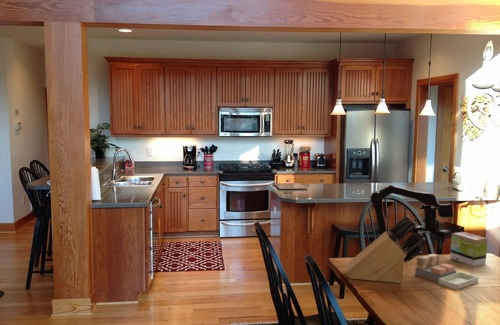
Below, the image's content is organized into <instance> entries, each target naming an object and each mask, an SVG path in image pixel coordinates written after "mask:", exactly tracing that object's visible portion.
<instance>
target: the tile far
mask: <svg viewBox="0 0 500 325" xmlns="http://www.w3.org/2000/svg"><path fill="white" fill-rule="evenodd" d="M439 266H440V267H443V268H446V271H447V272H450V271H453V270H456V269H455V267H456V266H455V265H452V264H450V263H449V264H448V263H441V264H439Z"/></svg>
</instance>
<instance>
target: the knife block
mask: <svg viewBox="0 0 500 325" xmlns="http://www.w3.org/2000/svg"><path fill="white" fill-rule="evenodd" d="M411 218H412V217H411V216H410V215H409V214H408V215H406V216H405V217H403V218H402V219H400V220H399V221H398V222H397V223H396V224H394V225H393V226H392V227H391V228H390V229H389V230H387V232H384V233H383V234H382V235H381V236H380V235H379V236H378V237H377V238H376V239H375V240H373V241H372V242H371V243H370V244H368V246H366V247H365V248H363V249H362V250H361V251H360V252H359V253H358V254H357V255H356V256H354V257H353V258H352V259H350V261H348V262H347V263H346V264H345V265H344V267H345V268H344V269H345V270H344V271H345V274H346V276H347V277H348V278H349V279H352V280H361V281H362V280H363V281H364V280H365V281H377V282H385V283H386V282H387V283H395V284H396V283H397V284H402V283H403V274H404V264H406V263H409V262H410V261H412V260H413V259H415V258H417V256H420V254H423V253H424V249H423V247H422V245H421V243H422V242H424V241H426V237H425V236H424V237H422V238H420V239H419V237H421V236H422V234H421V233H418V234H414V233H413V234H412V235H411V236H409V237H408V238H407V239H406V240H405V241H404V243H403V244H402V245H400V244H399V243H398V242H399V241H400V240H401V239H402V238H404V237H405V236H407V235H408V234H409V233H410V232H412V229H413V228H414V227H416V226H418V223H417V222H416V221H415V220H414V219H413V218H412V219H411Z"/></svg>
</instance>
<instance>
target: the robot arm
mask: <svg viewBox="0 0 500 325" xmlns="http://www.w3.org/2000/svg"><path fill="white" fill-rule="evenodd" d="M392 194H393V195H397V196H401V197H405V198H409V199H413V200H417V201H418V202H421V203H422V204H421V205H420V206H419V210H423V219H422V220H421V221H422V223H423V224H424V225H420V224H419V225H418V224H417V226H416V227H414V228H413V229H412V230H411V233H413V234H418V233H421V234H422V236H421V237H419V239H420V238H422V237H424V238H425V235H426V234H433V235H436V236H437V237H436V244H437V247H438V248H437V249H438V251H442V248H443V245H444V242H445V240H447V239H449V237H451V236H452V232H451V231H450V230H448V229H445V223H442V222H440V221H439V219H438V218H437V216H438V217H440V218H441V219H448V218H450V219H452V218H453V217H454V211H453V207H452V206H453V205H452V203H444V204H443V203H439V201H437V197H436V195H435V194H434V193H432V192H430V191H416V190H413V189H408V188H404V187H399V186H396V185H393V184H389V185H388V186H386V187H384V188H382V189H380V190H375V191H372V193H371V195H370V201H371V204H372V207H373V208H374V210H375V215H376V221H377V224H378V225H377V226H378V230H379V231H378V232H379V234H380V235H379V236H381V235H382V234H383V233H384V232H387V233H388V228H387V225H386V220H385V215H384V209H383V200H384V199H386V198H387V197H388V196H390V195H392ZM425 241H426V240H425ZM425 241H424V242H422V243H421V244H420V246H421V248H424V247H425V244H426V242H425Z"/></svg>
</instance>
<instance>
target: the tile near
mask: <svg viewBox="0 0 500 325" xmlns="http://www.w3.org/2000/svg"><path fill="white" fill-rule="evenodd" d="M431 272H434V273H437V274H444V273H446V268H443V267H440V266H434V267H431Z"/></svg>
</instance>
